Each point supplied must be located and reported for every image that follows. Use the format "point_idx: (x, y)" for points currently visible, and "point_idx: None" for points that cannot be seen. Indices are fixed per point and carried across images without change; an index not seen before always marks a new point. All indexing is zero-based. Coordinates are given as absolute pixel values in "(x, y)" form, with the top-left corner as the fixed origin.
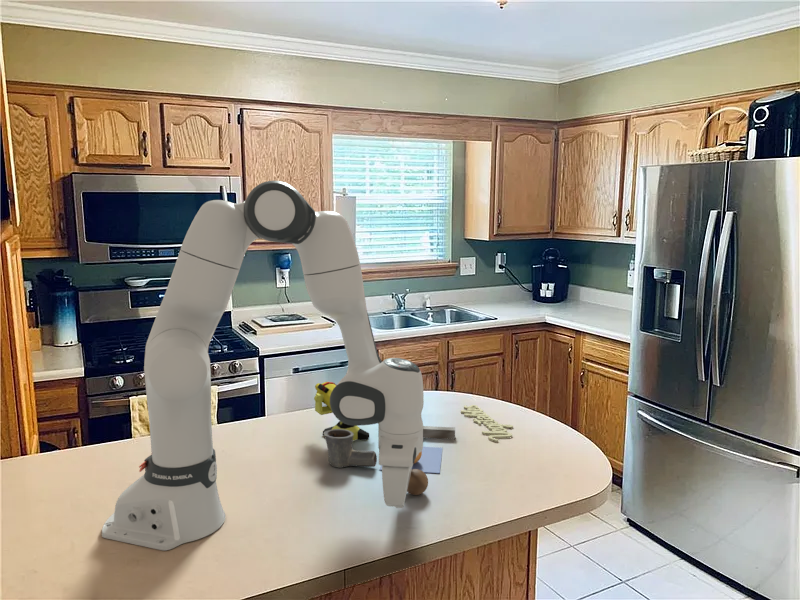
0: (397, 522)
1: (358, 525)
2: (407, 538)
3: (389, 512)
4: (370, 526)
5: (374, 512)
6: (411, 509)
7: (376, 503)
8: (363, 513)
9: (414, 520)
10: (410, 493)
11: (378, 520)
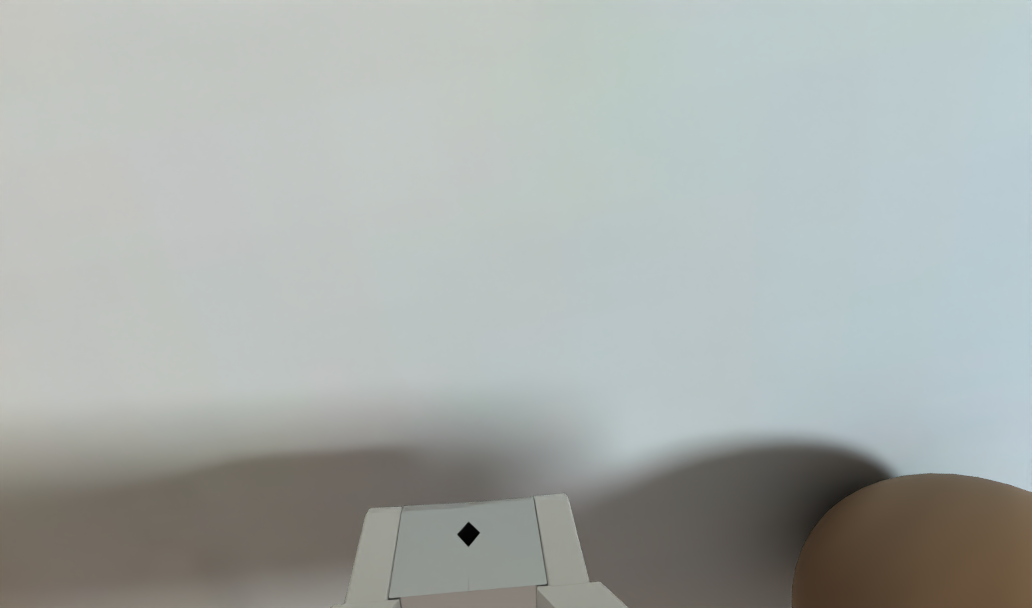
0: (273, 465)
1: (3, 2)
2: (16, 591)
3: (462, 353)
4: (60, 190)
5: (425, 175)
6: None
7: (659, 157)
8: (363, 15)
9: None
10: (814, 530)
11: (245, 263)
